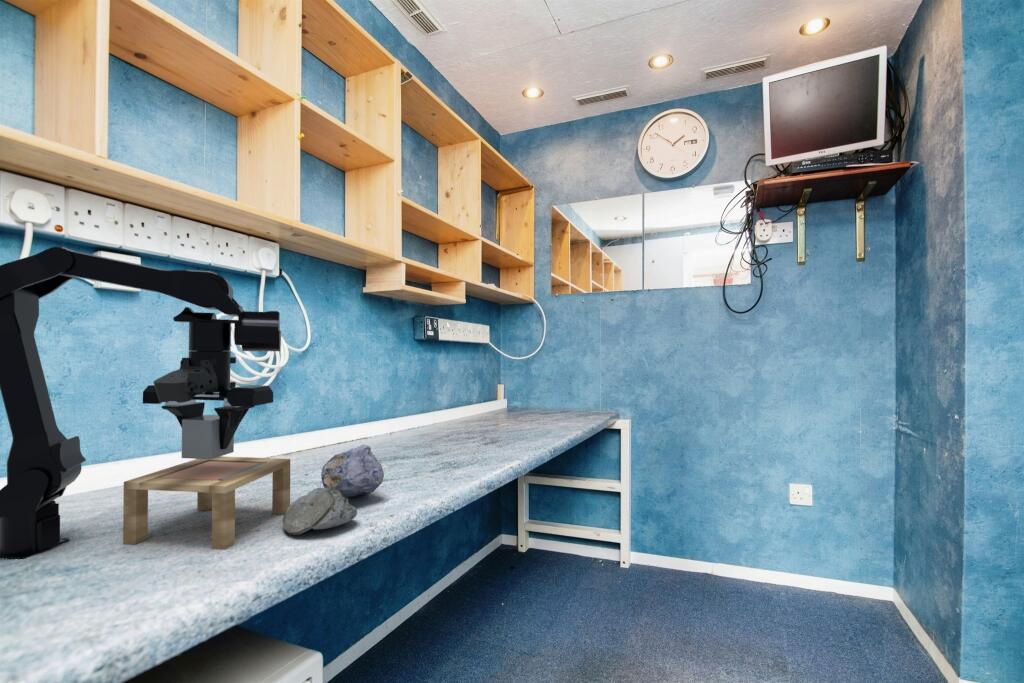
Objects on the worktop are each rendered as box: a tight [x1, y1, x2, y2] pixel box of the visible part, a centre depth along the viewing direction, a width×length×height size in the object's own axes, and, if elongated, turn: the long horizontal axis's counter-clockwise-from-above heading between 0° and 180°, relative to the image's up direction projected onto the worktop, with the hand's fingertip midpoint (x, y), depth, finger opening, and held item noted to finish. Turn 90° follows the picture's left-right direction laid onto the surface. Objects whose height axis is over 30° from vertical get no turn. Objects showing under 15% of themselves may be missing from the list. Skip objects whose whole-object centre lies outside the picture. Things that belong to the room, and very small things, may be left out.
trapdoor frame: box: [122, 455, 291, 551], centre depth 76 cm, size 16×16×9 cm
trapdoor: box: [160, 461, 264, 481], centre depth 76 cm, size 10×10×1 cm
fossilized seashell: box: [282, 486, 358, 536], centre depth 77 cm, size 10×9×10 cm
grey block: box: [181, 414, 235, 460], centre depth 76 cm, size 5×5×6 cm
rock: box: [320, 444, 385, 498], centre depth 88 cm, size 11×10×10 cm
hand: (208, 448), depth 76 cm, fingers closed on grey block, 5 cm apart
